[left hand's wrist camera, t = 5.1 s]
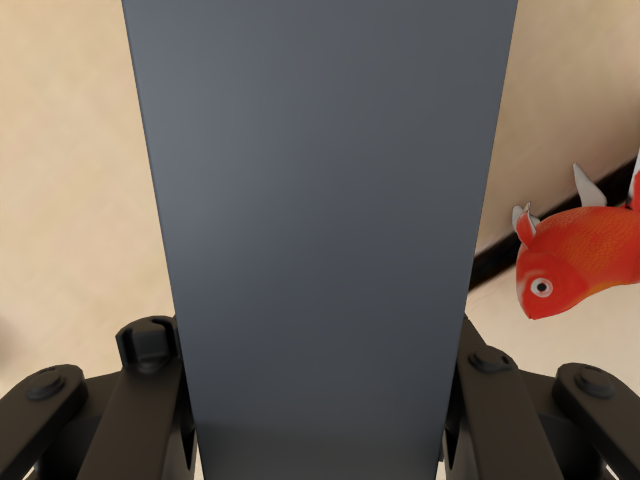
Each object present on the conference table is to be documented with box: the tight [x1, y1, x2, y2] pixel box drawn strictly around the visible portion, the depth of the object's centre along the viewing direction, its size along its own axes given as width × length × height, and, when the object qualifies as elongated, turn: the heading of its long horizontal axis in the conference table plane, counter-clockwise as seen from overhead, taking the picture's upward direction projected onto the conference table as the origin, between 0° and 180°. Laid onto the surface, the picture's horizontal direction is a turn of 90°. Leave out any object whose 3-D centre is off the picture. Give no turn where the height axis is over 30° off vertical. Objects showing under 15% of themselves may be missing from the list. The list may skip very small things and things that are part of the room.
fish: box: [512, 149, 640, 320], centre depth 20 cm, size 11×16×10 cm
